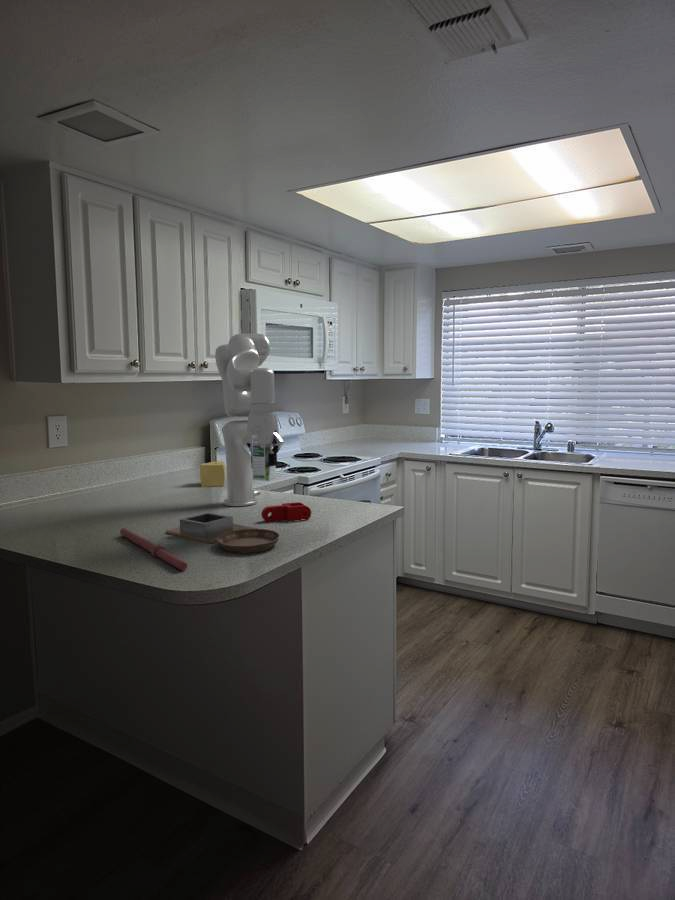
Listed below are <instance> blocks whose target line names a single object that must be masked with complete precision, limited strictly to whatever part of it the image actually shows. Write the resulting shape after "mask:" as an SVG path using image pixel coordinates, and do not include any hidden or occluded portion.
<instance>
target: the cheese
mask: <svg viewBox="0 0 675 900" xmlns="http://www.w3.org/2000/svg"><path fill="white" fill-rule="evenodd" d="M199 473H200V475H199V476H200V478H199V479H200V485H201V487H202V488H206V487H208V488H209V487H225V484H226V461H210V462H203V463H201V464H200V468H199Z"/></svg>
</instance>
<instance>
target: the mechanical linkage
mask: <svg viewBox="0 0 675 900" xmlns="http://www.w3.org/2000/svg"><path fill="white" fill-rule="evenodd" d="M269 514H270V515H269ZM260 516H261V518H262V519H263V521H265V522H267V523H274V522H282V521H283V520H284V521H287V522H288V521H292V522H296V521H295V520H301V519H308V520H309V519H310V518H311V516H312V509H311V508H310V507H308V506H307V505H305V504H304V503H302V502H299V501H297V502H285V503H281V504H280V505H270V506H269V505H267V506H266V507H264V508H263V509H262V511H261V515H260ZM301 521H302V520H301Z"/></svg>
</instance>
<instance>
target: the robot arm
mask: <svg viewBox="0 0 675 900" xmlns="http://www.w3.org/2000/svg"><path fill="white" fill-rule="evenodd" d="M270 351H271V343H270V340H269V338H268V337H267V336H266V334H262V333H237V334H234V335H232V336H231V337H230V338H229V340H228V342H227V344H221V345H219V346H217V348H216V349H215V355H214V356H215V357H214V358H215V364H216V368H217V370H218V372H219V375H220V377H221V381H222V391H223V404H224V411H225V414H226V415H227V416H228V417H231V418H246V417H247V419H245V420H244V419H240V420H239V419H238V420H237V419H236V420H230V421H228V422H225V424H224V425H223V427H222V437H223V443H224V449H225V470H226V488H227V489H226V492H227V494H226V495H227V498H226V499H224V500H223V501H222V503H223V505H225V506H228V507H246V506H247V507H248V506H252V505H256V504H257V502H258V500H257V498H255V497H256V496H260V495H262V491H261V490H260V489H258V490H254V489H253V462H252V435H257V436H258V437H257V436H256V437H257V442H258V444H260V445H265V446H267V445H268V446H269V451H270V454H269V466H277V465H278V454H279V450H281V448H282V446H283V445H284V443H285V441H284V440H283V439H282V437H281V436H280V433H279V422H278V416H277V413H276V399H275V397H276V395H275V372H274V370H273V369H271V368H268V367H260V366H262V365H263V364H264V362H265V361H266V360H267V358H268V357H269V355H270ZM272 446H273V448H272ZM246 447H248V448H249V449H248V450H249V451H248V450H247V449H246Z"/></svg>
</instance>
